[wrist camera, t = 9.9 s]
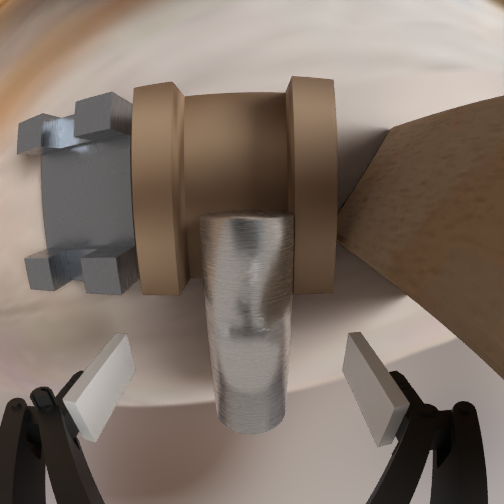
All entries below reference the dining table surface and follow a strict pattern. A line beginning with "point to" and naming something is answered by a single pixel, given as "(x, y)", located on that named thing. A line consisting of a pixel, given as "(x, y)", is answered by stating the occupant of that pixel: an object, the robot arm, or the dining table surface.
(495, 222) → the wooden block
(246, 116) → the wooden clevis bracket
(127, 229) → the v block
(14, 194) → the dining table surface
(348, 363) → the robot arm
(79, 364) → the dining table surface
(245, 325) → the axle
